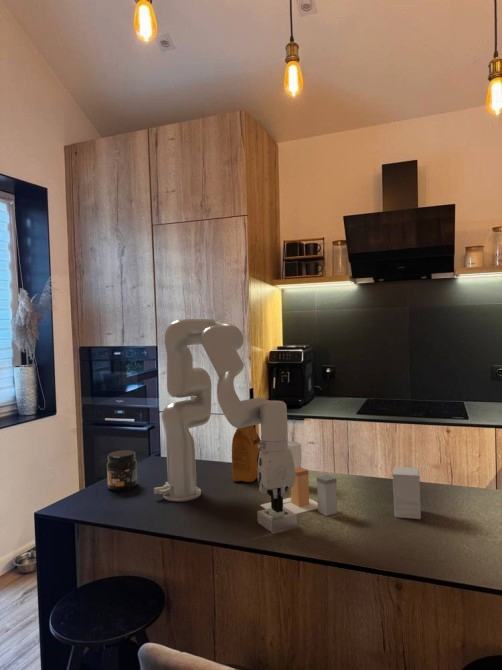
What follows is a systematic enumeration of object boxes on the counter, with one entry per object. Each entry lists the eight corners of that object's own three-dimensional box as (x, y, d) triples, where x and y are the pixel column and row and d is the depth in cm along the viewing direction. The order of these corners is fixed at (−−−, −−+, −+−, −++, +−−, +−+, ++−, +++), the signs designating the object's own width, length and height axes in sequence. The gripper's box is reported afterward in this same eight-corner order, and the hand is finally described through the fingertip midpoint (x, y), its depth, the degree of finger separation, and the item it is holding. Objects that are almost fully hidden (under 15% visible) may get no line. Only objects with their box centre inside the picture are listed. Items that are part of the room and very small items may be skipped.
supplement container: (101, 489, 169) (99, 456, 168) (120, 480, 178) (118, 448, 178) (125, 493, 165) (124, 458, 164) (143, 483, 174) (142, 450, 174)
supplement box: (420, 510, 141) (419, 467, 141) (421, 520, 134) (419, 475, 134) (394, 507, 143) (393, 466, 143) (393, 517, 136) (392, 473, 136)
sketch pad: (280, 519, 138) (280, 517, 138) (259, 506, 148) (259, 504, 148) (324, 507, 145) (324, 506, 145) (302, 495, 156) (302, 494, 156)
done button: (274, 527, 131) (273, 514, 130) (266, 521, 134) (265, 509, 134) (287, 523, 133) (287, 511, 133) (279, 518, 137) (279, 506, 136)
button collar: (272, 533, 128) (271, 520, 128) (257, 523, 135) (257, 511, 135) (296, 526, 132) (296, 514, 132) (281, 517, 139) (281, 505, 139)
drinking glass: (302, 482, 169) (301, 440, 169) (302, 489, 162) (301, 445, 162) (283, 482, 170) (282, 440, 169) (282, 489, 163) (281, 445, 163)
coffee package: (268, 475, 179) (266, 417, 179) (252, 485, 168) (250, 423, 168) (244, 472, 184) (242, 415, 183) (228, 482, 173) (226, 421, 172)
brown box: (298, 507, 145) (297, 472, 145) (291, 503, 149) (289, 469, 149) (309, 504, 147) (308, 470, 147) (301, 500, 151) (300, 467, 151)
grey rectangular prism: (326, 517, 138) (325, 480, 138) (317, 512, 142) (316, 477, 141) (337, 514, 140) (336, 478, 140) (328, 509, 144) (327, 474, 143)
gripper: (258, 452, 126) (260, 521, 126) (304, 443, 133) (307, 508, 134) (244, 446, 133) (247, 512, 133) (289, 439, 140) (292, 501, 140)
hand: (277, 510), depth 133 cm, fingers closed
